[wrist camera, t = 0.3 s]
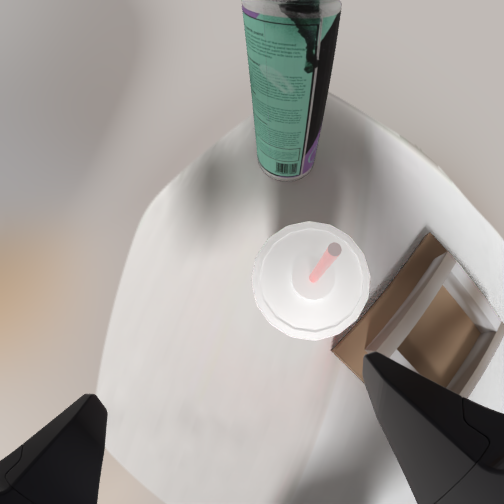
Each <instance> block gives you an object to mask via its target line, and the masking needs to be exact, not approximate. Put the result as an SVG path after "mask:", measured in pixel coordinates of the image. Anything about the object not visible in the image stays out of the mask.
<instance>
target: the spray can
mask: <svg viewBox="0 0 504 504" xmlns="http://www.w3.org/2000/svg"><path fill="white" fill-rule="evenodd" d="M241 1H242V10H243V18H244V26H245V36H246V46H247V55H248V64H249V73H250V83H251V93H252V103H253V113H254V124H255V134H256V145H257V156H258V162H259V165H260V167H261V169H262V170H263V171H264V172H265V174H267V175H268V176H270V177H271V178H274V179H276V180H280V181H294V180H298V179H300V178H303V177H304V176H306V175H307V174H308V173H309V172H310V170H311V169H312V166H313V163H314V159H315V155H316V150H317V145H318V140H319V136H320V131H321V126H322V121H323V115H324V110H325V105H326V100H327V94H328V89H329V83H330V78H331V72H332V66H333V60H334V53H335V48H336V41H337V35H338V27H339V21H340V14H341V6H342V3H341V1H340V0H241Z"/></svg>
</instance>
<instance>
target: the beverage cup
mask: <svg viewBox="0 0 504 504" xmlns="http://www.w3.org/2000/svg"><path fill="white" fill-rule="evenodd" d="M251 283H252V287H253V292H254V296H255V301H256V305H257V306H258V308H259V309H260V311H261V312H262V313H263V315H264V316H265V318H266V319H267V320H268V322H269V323H270V325H272V326H274V327H275V328H277V329H278V330H280V331H282V332H283V333H285V334H287V335H288V336H290V337H293V338H300V339H307V340H314V341H316V340H320V339H324V338H327V337H331V336H335V335H338V334H340V333H341V332H342V331H344V330H345V329H346V328H347V327H349V326H350V325H351V324H352V323H354V322H355V321H356V320H357V319H358V317H359V315H360V314H361V312H362V310H363V308H364V306H365V304H366V302H367V300H368V297H369V287H370V272H369V269H368V265H367V262H366V259H365V256H364V253H363V252H362V251H361V249H360V248H359V247H358V246H357V244H356V243H355V242H354V240H353V239H352V238H351V237H350V236H349V235H347V234H346V233H344V232H342V231H341V230H339V229H337V228H336V227H334V226H332V225H330V224H324V223H318V222H312V221H306V222H302V223H297V224H292V225H288V226H286V227H284V228H283V229H281V230H280V231H278V232H277V233H275V234H274V235H272V236H271V237H269V238H268V239H267V241H266V242H265V244H264V245H263V247H262V248H261V250H260V251H259V253H258V255H257V256H256V258H255V263H254V268H253V273H252V279H251Z"/></svg>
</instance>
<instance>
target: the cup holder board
mask: <svg viewBox="0 0 504 504" xmlns="http://www.w3.org/2000/svg"><path fill="white" fill-rule="evenodd" d="M503 336H504V324H503V322H502V321H501V319H500V318H499V316H498V315H497V313H496V312H495V310H494V309H493V307H492V306H491V305H490V303H489V302H488V300H487V299H486V298H485V296H484V295H483V293H482V292H481V291H480V289H479V288H478V287H477V285H476V284H475V283H474V282H473V280H472V279H471V278H470V277H469V275H468V274H467V273H466V272H465V270H464V269H463V268H462V267H461V265H460V264H459V263H458V262H457V261H456V259H455V258H454V257H453V256H452V255H451V254H450V253H449V251H447V250H446V249H445V248H444V247H443V246H442V245H441V244H440V242H439V241H438V240H437V239H436V238H435V237H434V236H433V235H432V234H431V233H428V234H427V235H426V236H425V237H424V238H423V240H422V241H421V243H420V244H419V245H418V247H417V248H416V250H415V251H414V252H413V254H412V255H411V257H410V258H409V259H408V261H407V262H406V263H405V265H404V266H403V267H402V269H401V270H400V271H399V273H398V274H397V275H396V277H395V278H394V279H393V281H392V282H391V283H390V284H389V286H388V287H387V288H386V289H385V291H384V292H383V293H382V294H381V296H380V297H379V298H378V299H377V300H376V302H375V303H374V304H373V305H372V306H371V308H370V309H369V310H368V311H367V312H366V313H365V315H364V316H363V317H362V318H361V319H360V320H359V321H358V322H357V324H356V325H355V326H354V327H353V328H352V329H351V330H350V331H349V332H348V334H347V335H346V336H345V337H344V338H343V339H342V340H341V341H340V342H339V343H338V344H337V345H336V346H335V347H334V348H333V349H332V350H331V351H332V352H333V353H334V354H335V355H336V356H337V357H338V358H339V359H340V360H341V361H342V362H343V363H344V364H345V365H346V366H347V367H348V368H349V369H350V370H351V371H352V372H353V373H354V374H355V375H356V376H357V377H358V378H359V379H360V380H362V381H363V382H364V380H363V375H362V370H363V357H364V355H365V354H368V353H371V352H374V351H377V352H379V353H381V354H383V355H385V356H387V357H388V358H390V359H392V360H394V361H396V362H398V363H400V364H401V365H403V366H405V367H407V368H409V369H411V370H413V371H415V372H416V373H418V374H420V375H422V376H424V377H426V378H428V379H430V380H432V381H434V382H435V383H437V384H439V385H441V386H443V387H445V388H447V389H449V390H451V391H453V392H455V393H457V394H459V395H461V396H462V397H465V398H468V397H469V395H470V394H471V392H472V391H473V389H474V388H475V386H476V384H477V383H478V381H479V380H480V378H481V376H482V375H483V373H484V371H485V370H486V368H487V366H488V365H489V363H490V361H491V359H492V357H493V356H494V354H495V352H496V350H497V348H498V346H499V344H500V342H501V340H502V338H503Z"/></svg>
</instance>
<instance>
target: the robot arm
mask: <svg viewBox="0 0 504 504" xmlns="http://www.w3.org/2000/svg"><path fill="white" fill-rule="evenodd" d="M362 375H363V380H364V383H365V385H366V388H367V391H368V394H369V396H370V399H371V402H372V405H373V408H374V411H375V414H376V416H377V419H378V421H379V423H380V425H381V427H382V429H383V431H384V433H385V435H386V437H387V439H388V441H389V443H390V445H391V447H392V450H393V452H394V454H395V456H396V458H397V460H398V462H399V464H400V466H401V468H402V471H403V473H404V475H405V477H406V479H407V481H408V484H409V486H410V488H411V490H412V492H413V495H414V497H415V499H416V501H417V504H504V414H503V413H500V412H497V411H494V410H492V409H489V408H486V407H484V406H482V405H480V404H477V403H475V402H473V401H471V400H469V399H467V398H465V397H462V396H461V395H459V394H457V393H455V392H453V391H451V390H449V389H447V388H445V387H443V386H441V385H439V384H437V383H435V382H434V381H432V380H430V379H428V378H426V377H424V376H422V375H420V374H418V373H416V372H415V371H413V370H411V369H409V368H407V367H405V366H403V365H401V364H400V363H398V362H396V361H394V360H392V359H390V358H388V357H387V356H385V355H383V354H381V353H379V352H377V351H374V352H371V353H368V354H365V355H364V357H363V370H362ZM106 425H107V410H106V408H105V407H104V405H103V404H102V403H101V401H100V400H99V399H98V397H97V396H96V395H95V394H84V395H83V396H82V397H80V398H79V399H78V400H77V401H75V402H74V403H73V404H72V405H70V406H69V407H68V408H67V409H66V410H64V411H63V412H62V413H61V414H60V415H58V416H57V417H56V418H55V419H53V420H52V421H51V422H50V423H48V424H47V425H46V426H45V427H43V428H42V429H41V430H40V431H38V432H37V433H36V434H35V435H33V437H31V438H30V439H29V440H27V441H26V442H25V443H24V444H23V445H21V446H20V447H19V448H17V449H16V450H15V451H13V452H12V453H11V454H9V455H8V456H7V457H5V458H4V459H2V460H1V461H0V504H97V499H98V489H99V482H100V475H101V467H102V461H103V456H104V449H105V437H106Z"/></svg>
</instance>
